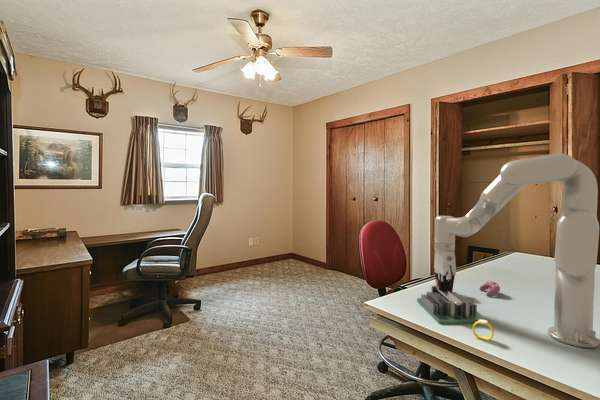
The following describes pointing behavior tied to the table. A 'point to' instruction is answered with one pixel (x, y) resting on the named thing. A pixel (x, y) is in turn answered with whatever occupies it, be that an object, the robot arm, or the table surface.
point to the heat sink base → (449, 308)
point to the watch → (483, 324)
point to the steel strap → (451, 297)
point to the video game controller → (490, 288)
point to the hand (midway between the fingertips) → (443, 290)
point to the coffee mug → (450, 283)
